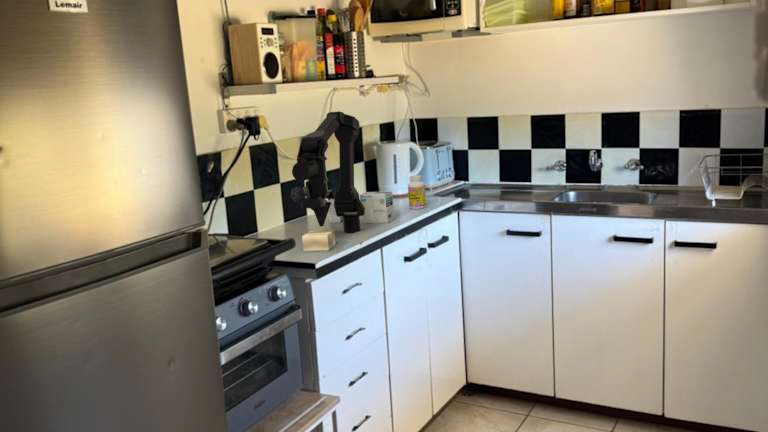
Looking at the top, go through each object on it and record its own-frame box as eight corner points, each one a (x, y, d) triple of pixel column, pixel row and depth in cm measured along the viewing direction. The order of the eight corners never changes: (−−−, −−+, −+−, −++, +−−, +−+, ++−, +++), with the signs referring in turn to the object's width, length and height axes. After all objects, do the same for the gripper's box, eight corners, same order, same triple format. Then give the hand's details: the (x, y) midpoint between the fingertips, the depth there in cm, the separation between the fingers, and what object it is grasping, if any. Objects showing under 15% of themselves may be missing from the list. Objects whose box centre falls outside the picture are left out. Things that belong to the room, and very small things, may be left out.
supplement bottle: (406, 209, 285) (404, 177, 282) (413, 206, 290) (411, 175, 288) (421, 209, 281) (419, 177, 279) (428, 206, 287) (426, 174, 285)
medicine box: (340, 222, 268) (338, 199, 266) (328, 223, 269) (326, 200, 267) (345, 218, 276) (343, 196, 274) (334, 219, 276) (331, 197, 275)
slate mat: (308, 245, 232) (307, 242, 232) (349, 243, 230) (349, 240, 230) (292, 256, 217) (292, 254, 217) (337, 255, 214) (336, 252, 214)
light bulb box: (395, 219, 265) (392, 190, 263) (387, 223, 259) (385, 193, 257) (369, 219, 269) (366, 191, 267) (361, 223, 263) (358, 194, 261)
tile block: (309, 230, 225) (302, 236, 217) (334, 229, 223) (327, 235, 216) (311, 246, 226) (303, 252, 218) (335, 245, 224) (329, 251, 217)
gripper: (301, 174, 232) (305, 221, 235) (282, 182, 214) (287, 233, 217) (334, 172, 230) (338, 220, 233) (318, 180, 212) (323, 231, 215)
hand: (321, 226), depth 224 cm, fingers closed
